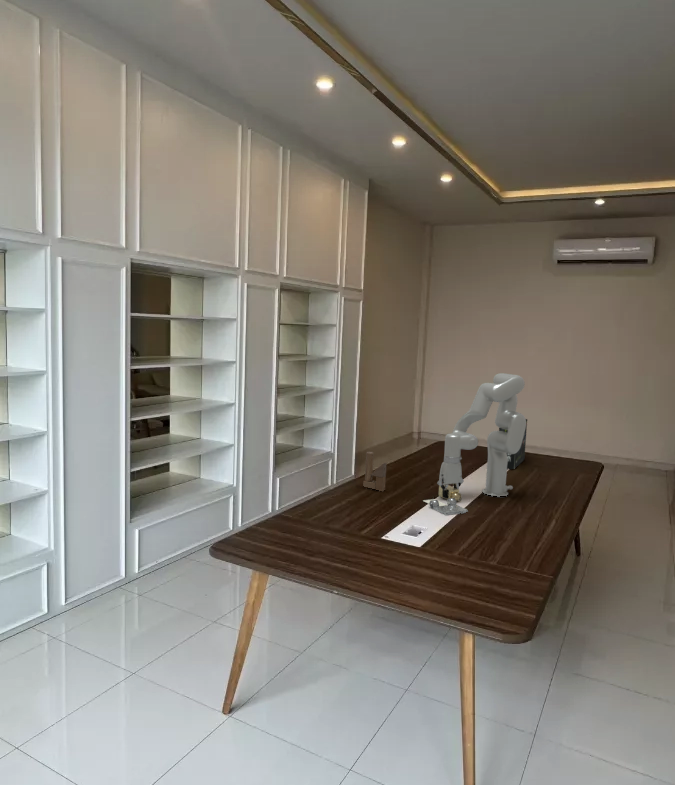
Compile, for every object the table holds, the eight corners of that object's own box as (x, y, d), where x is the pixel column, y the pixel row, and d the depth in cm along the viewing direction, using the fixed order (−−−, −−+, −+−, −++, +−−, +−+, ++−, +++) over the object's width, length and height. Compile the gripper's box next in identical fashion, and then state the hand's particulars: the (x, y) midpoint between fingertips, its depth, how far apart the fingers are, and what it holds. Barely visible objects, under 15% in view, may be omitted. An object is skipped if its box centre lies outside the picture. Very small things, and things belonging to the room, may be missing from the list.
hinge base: (452, 504, 265) (453, 496, 264) (469, 512, 254) (469, 504, 254) (427, 507, 259) (428, 499, 258) (443, 515, 248) (444, 507, 248)
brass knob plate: (446, 494, 280) (447, 484, 279) (462, 501, 270) (462, 491, 269) (438, 495, 278) (439, 485, 277) (453, 502, 267) (454, 492, 267)
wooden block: (381, 492, 280) (383, 455, 278) (362, 487, 286) (364, 452, 284) (385, 490, 283) (387, 454, 281) (366, 486, 289) (368, 451, 287)
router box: (507, 457, 375) (510, 416, 372) (524, 459, 370) (528, 418, 367) (495, 467, 343) (498, 423, 341) (514, 470, 338) (517, 425, 335)
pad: (435, 499, 271) (435, 499, 271) (447, 505, 263) (447, 505, 263) (422, 500, 268) (422, 500, 268) (434, 507, 260) (434, 506, 260)
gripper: (461, 456, 279) (459, 493, 281) (432, 459, 272) (430, 496, 274) (471, 460, 272) (469, 497, 274) (441, 462, 265) (439, 501, 267)
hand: (449, 496), depth 274 cm, fingers closed on brass knob plate, 5 cm apart
